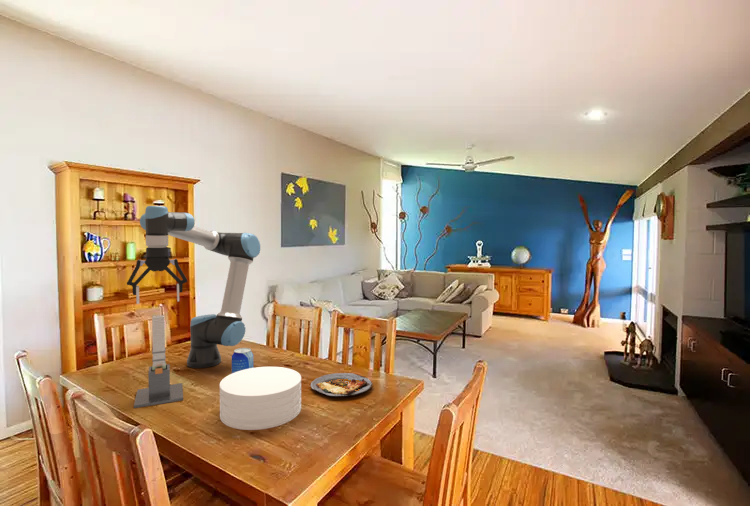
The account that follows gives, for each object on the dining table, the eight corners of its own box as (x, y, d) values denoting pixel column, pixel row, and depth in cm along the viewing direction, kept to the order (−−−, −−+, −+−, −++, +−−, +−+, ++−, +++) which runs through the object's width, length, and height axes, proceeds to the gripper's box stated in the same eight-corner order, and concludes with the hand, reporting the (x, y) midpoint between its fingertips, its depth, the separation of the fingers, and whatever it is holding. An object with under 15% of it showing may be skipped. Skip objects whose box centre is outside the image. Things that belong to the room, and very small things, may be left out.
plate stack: (258, 439, 125) (258, 403, 124) (202, 416, 139) (202, 383, 139) (317, 406, 148) (317, 375, 148) (264, 389, 163) (264, 361, 163)
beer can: (257, 386, 166) (257, 348, 165) (244, 394, 158) (244, 354, 157) (240, 383, 168) (240, 346, 168) (227, 391, 161) (227, 351, 160)
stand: (182, 385, 166) (181, 356, 165) (183, 400, 152) (182, 368, 151) (137, 391, 159) (136, 361, 158) (133, 408, 144) (133, 375, 144)
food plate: (383, 387, 166) (383, 379, 166) (342, 406, 148) (342, 397, 148) (341, 374, 182) (341, 366, 182) (300, 389, 165) (300, 381, 165)
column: (166, 370, 158) (165, 314, 156) (166, 373, 154) (164, 317, 152) (152, 371, 156) (151, 315, 154) (152, 375, 151) (151, 318, 150)
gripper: (192, 246, 161) (193, 298, 162) (119, 246, 150) (121, 302, 151) (193, 246, 154) (194, 301, 156) (117, 247, 143) (118, 306, 144)
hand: (158, 302), depth 153 cm, fingers open, 13 cm apart
